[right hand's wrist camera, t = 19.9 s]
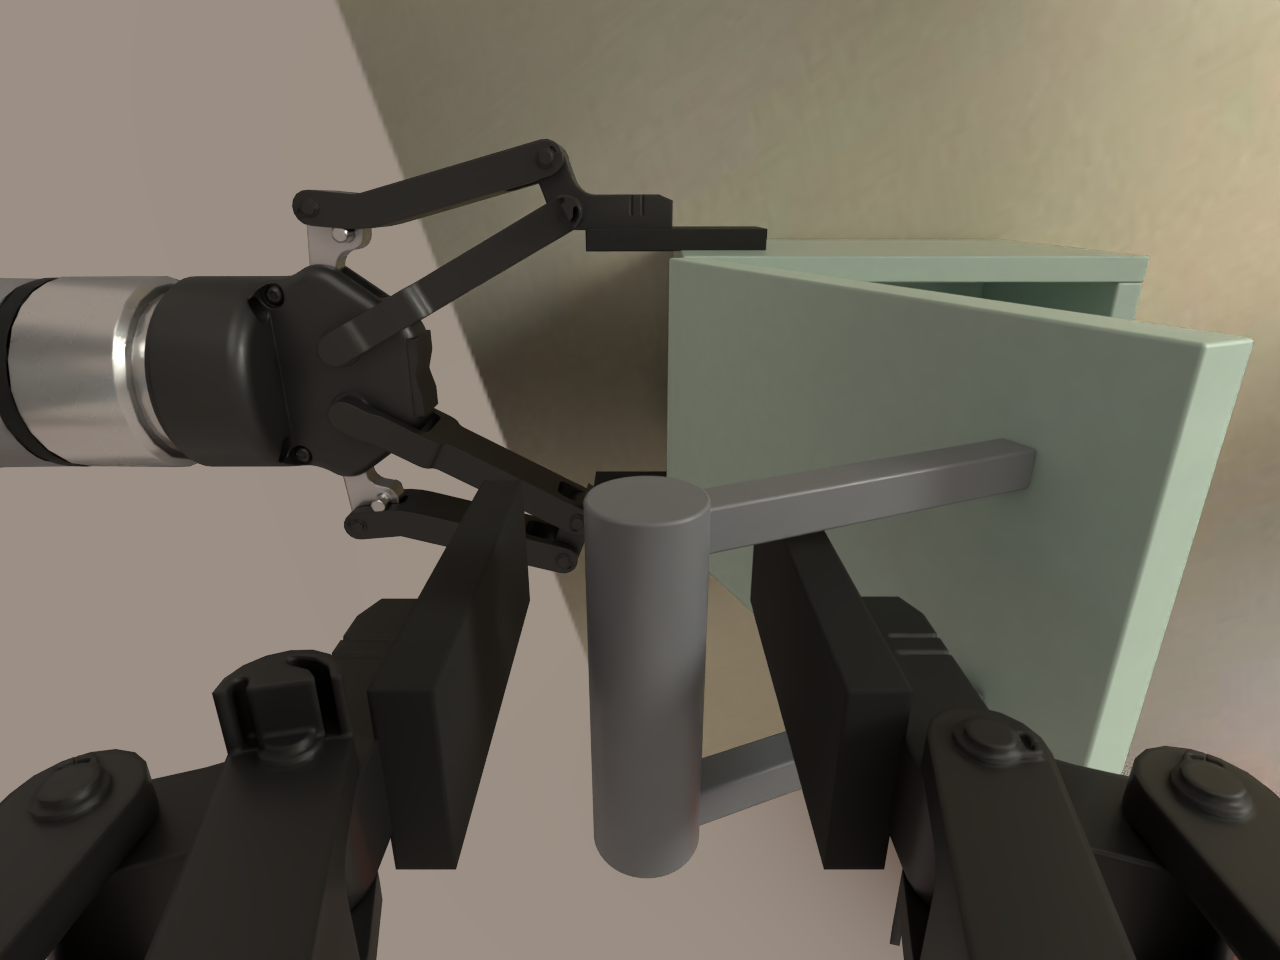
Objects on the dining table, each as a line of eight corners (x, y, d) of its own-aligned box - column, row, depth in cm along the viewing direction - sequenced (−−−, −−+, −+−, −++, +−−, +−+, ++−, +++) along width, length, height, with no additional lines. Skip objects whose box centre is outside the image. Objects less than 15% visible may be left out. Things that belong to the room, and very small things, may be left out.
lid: (1258, 337, 10) (669, 407, 6) (1094, 868, 13) (659, 1086, 10) (699, 256, 23) (421, 266, 20) (691, 528, 27) (454, 573, 23)
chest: (1000, 239, 33) (1150, 256, 23) (966, 436, 37) (1084, 525, 27) (673, 239, 33) (683, 256, 23) (670, 435, 37) (678, 523, 27)
